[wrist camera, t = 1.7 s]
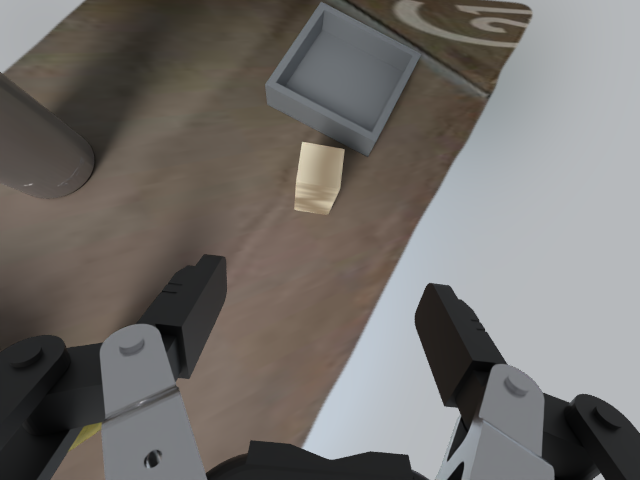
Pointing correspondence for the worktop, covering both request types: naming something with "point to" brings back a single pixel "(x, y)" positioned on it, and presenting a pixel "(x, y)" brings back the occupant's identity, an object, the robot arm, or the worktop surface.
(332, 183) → the maple block
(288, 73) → the box
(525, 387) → the robot arm
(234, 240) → the worktop surface
